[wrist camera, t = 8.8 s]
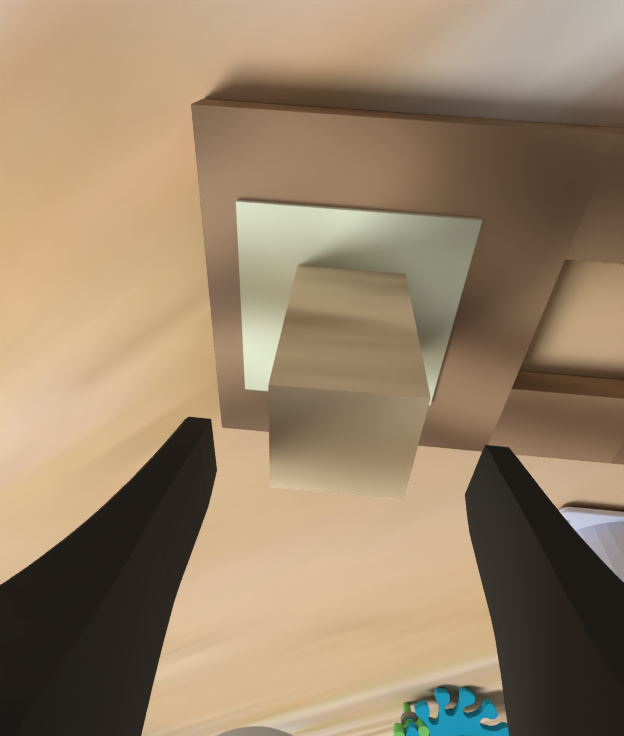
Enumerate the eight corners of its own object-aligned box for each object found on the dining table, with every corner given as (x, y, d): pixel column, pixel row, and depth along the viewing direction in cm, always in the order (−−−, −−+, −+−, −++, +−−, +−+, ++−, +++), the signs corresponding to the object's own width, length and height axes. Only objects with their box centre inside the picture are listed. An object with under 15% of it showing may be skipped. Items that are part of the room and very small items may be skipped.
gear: (526, 711, 41) (509, 831, 40) (505, 677, 47) (489, 781, 46) (405, 677, 43) (385, 792, 41) (399, 648, 49) (381, 748, 47)
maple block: (389, 361, 19) (403, 499, 13) (295, 353, 19) (270, 487, 14) (405, 273, 17) (431, 398, 11) (297, 265, 17) (268, 384, 11)
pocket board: (657, 447, 23) (675, 472, 22) (228, 408, 24) (221, 430, 22) (882, 146, 14) (933, 157, 13) (203, 98, 15) (188, 105, 14)
